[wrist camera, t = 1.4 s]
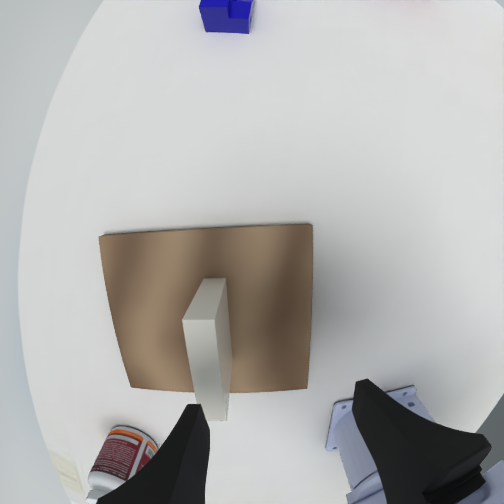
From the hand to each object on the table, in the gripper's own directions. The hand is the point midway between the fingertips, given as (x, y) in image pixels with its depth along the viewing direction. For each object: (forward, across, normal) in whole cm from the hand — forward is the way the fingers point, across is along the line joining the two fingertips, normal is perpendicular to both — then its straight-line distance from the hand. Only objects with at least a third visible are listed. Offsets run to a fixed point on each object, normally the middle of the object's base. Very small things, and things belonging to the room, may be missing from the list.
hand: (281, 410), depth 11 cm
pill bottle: (+10, +16, +16) cm, 25 cm away
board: (+11, +4, 0) cm, 12 cm away
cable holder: (+13, -1, -26) cm, 29 cm away
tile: (+10, +3, 0) cm, 10 cm away
